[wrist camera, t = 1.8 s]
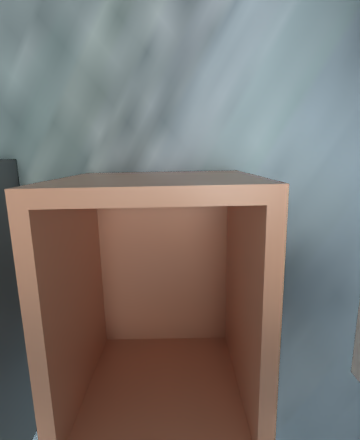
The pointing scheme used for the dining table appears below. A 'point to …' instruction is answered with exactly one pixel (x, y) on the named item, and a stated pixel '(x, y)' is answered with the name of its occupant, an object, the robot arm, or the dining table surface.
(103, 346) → the small crate
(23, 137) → the dining table surface
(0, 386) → the grey tray
